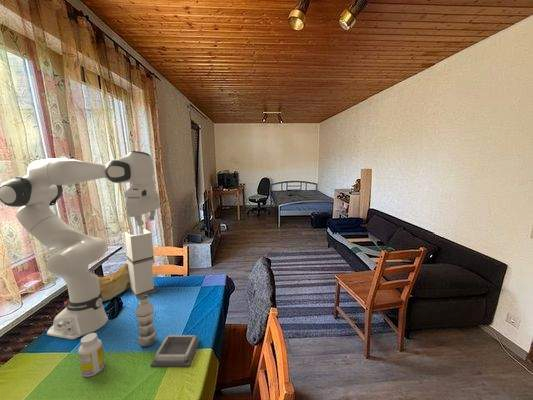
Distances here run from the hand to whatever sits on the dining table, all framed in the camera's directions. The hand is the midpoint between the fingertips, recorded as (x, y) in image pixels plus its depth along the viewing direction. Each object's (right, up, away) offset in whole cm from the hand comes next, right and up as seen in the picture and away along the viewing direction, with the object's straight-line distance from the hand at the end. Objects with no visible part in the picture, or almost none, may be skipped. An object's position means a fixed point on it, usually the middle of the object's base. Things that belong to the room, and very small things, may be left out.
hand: (146, 222), depth 102 cm
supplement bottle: (-11, -51, -16) cm, 55 cm away
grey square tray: (+16, -50, -9) cm, 53 cm away
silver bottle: (+3, -49, -4) cm, 49 cm away
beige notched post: (-21, -43, +37) cm, 61 cm away
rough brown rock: (-38, -44, +36) cm, 68 cm away
